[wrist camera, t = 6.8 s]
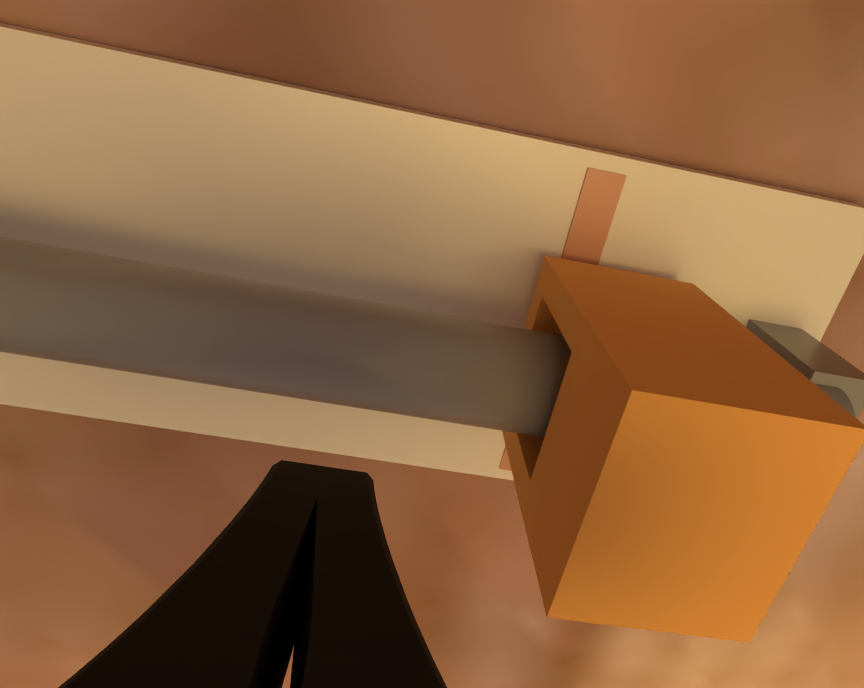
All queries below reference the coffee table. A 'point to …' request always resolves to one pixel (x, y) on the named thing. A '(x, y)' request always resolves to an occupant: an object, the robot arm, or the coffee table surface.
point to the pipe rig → (347, 257)
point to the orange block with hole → (670, 458)
